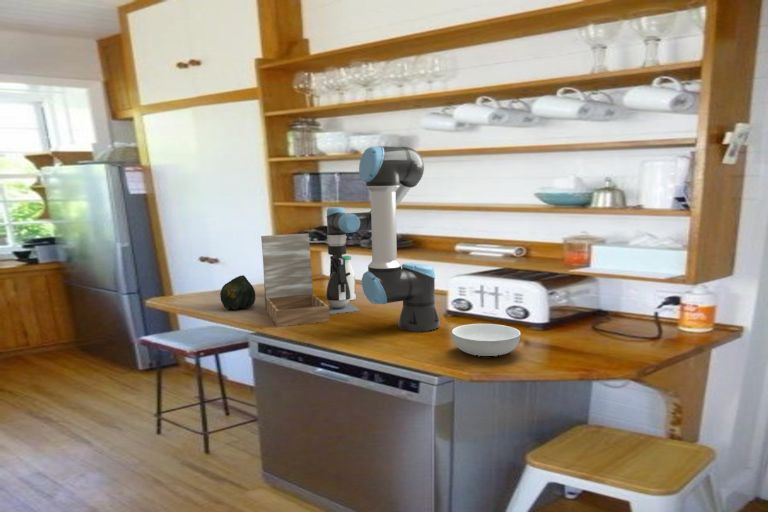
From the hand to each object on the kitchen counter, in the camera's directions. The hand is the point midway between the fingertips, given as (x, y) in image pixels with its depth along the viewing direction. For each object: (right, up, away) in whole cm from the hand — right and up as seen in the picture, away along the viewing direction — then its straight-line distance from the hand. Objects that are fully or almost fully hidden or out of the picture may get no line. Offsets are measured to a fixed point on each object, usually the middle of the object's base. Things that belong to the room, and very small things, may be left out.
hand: (338, 297), depth 235 cm
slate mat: (0, -5, +1) cm, 5 cm away
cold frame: (-17, -7, -8) cm, 20 cm away
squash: (-44, -5, +8) cm, 45 cm away
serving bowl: (+50, -13, -62) cm, 81 cm away
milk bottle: (+2, -3, +21) cm, 21 cm away
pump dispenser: (0, -4, 0) cm, 4 cm away
